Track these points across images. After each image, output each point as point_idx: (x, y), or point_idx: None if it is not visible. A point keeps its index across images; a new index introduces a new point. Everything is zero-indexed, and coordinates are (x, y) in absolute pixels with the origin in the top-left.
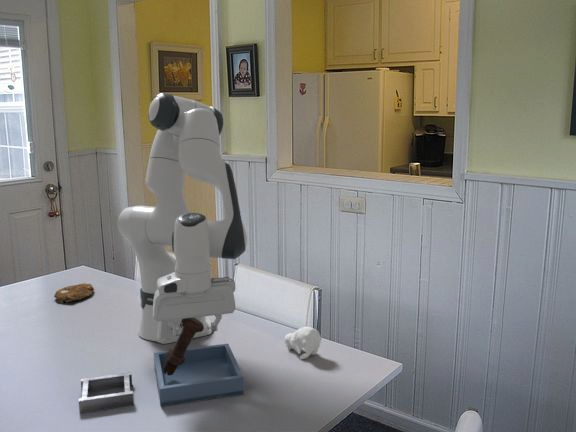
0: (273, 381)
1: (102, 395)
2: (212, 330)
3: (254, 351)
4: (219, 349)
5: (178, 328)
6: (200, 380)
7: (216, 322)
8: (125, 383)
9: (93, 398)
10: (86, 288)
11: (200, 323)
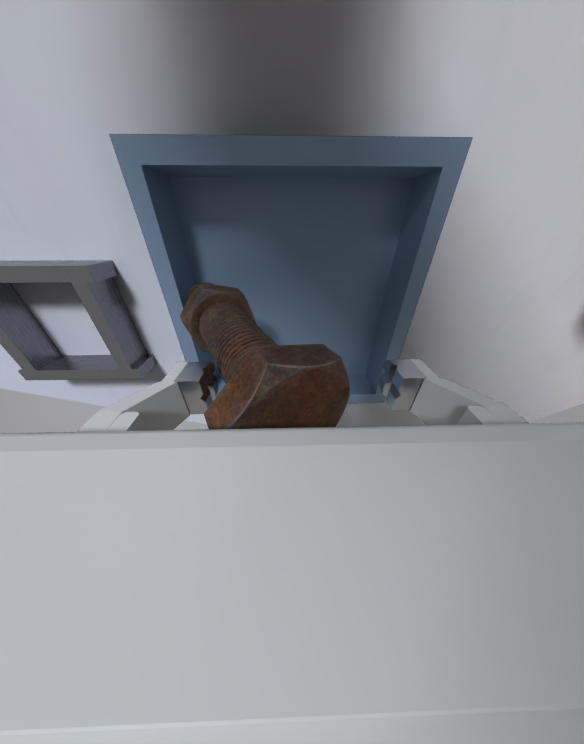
0: (449, 349)
1: (70, 371)
2: (382, 390)
3: (554, 111)
4: (411, 170)
5: (201, 404)
6: (297, 321)
7: (426, 423)
8: (101, 331)
9: (56, 377)
10: None
11: (335, 403)
